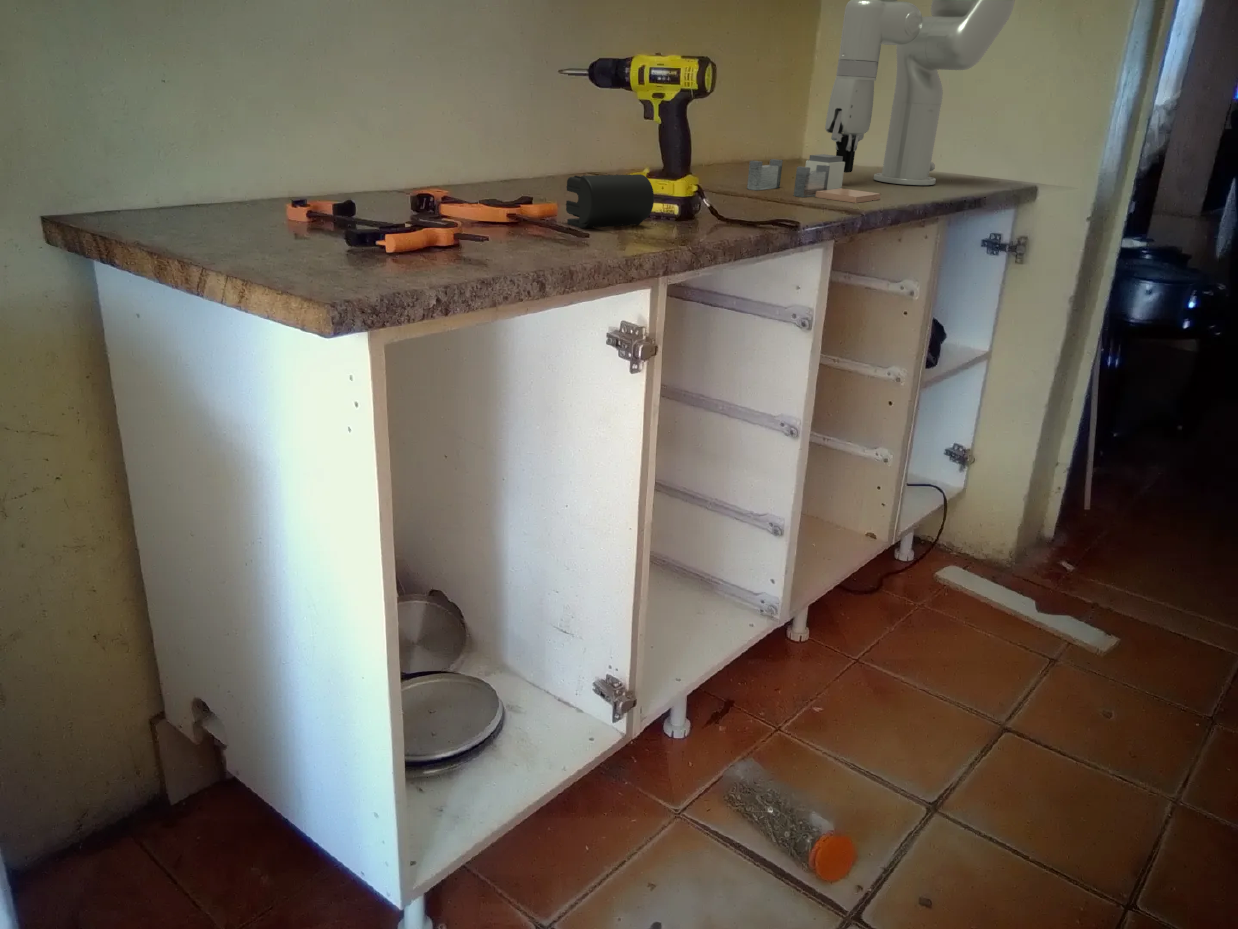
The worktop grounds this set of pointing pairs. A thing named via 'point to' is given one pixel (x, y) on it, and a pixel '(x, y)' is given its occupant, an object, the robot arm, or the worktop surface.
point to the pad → (848, 195)
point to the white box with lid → (834, 171)
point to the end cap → (609, 200)
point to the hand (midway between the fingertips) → (842, 171)
